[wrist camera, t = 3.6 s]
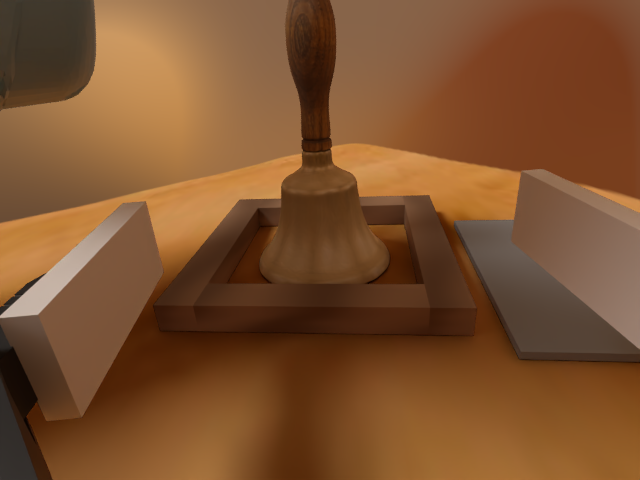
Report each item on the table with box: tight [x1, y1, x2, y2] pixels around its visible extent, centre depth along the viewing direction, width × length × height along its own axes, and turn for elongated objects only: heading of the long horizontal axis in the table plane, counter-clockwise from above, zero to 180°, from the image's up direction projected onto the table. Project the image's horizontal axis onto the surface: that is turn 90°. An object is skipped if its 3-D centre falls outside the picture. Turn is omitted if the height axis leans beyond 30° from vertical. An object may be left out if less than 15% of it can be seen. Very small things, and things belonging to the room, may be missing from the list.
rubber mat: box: [454, 220, 640, 362], centre depth 22 cm, size 14×14×1 cm
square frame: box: [153, 195, 477, 336], centre depth 26 cm, size 15×15×2 cm
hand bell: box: [259, 0, 390, 284], centre depth 23 cm, size 8×8×16 cm
